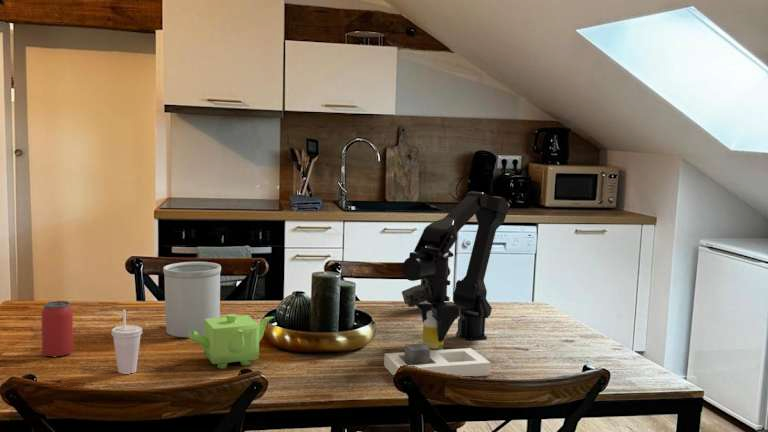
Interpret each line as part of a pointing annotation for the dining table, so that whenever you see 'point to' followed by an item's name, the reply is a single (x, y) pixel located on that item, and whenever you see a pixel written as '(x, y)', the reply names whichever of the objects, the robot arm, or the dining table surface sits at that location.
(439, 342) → the supplement bottle
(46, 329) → the beer can
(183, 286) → the utensil holder
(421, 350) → the seated peg
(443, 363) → the white flat block
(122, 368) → the smoothie
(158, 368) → the dining table surface
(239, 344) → the kettle
